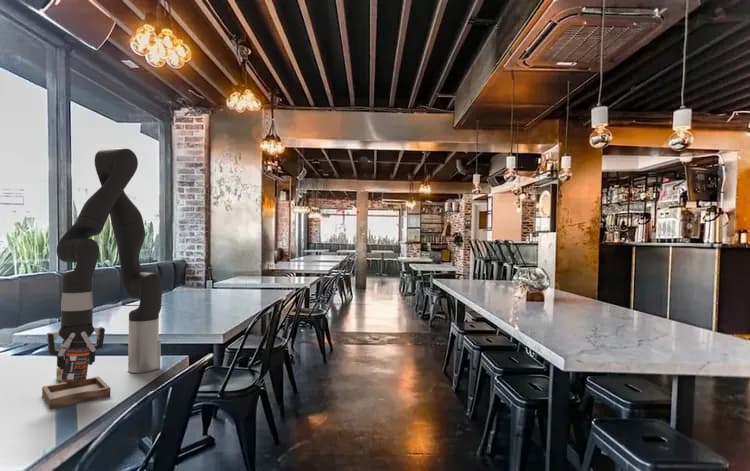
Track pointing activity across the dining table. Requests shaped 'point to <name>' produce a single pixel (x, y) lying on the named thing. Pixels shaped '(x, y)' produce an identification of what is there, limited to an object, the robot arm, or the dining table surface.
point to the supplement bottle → (76, 362)
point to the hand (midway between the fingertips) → (76, 366)
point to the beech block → (58, 374)
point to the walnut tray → (75, 392)
